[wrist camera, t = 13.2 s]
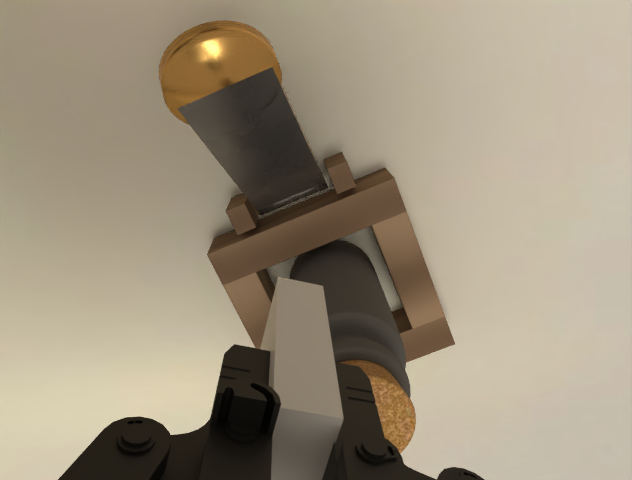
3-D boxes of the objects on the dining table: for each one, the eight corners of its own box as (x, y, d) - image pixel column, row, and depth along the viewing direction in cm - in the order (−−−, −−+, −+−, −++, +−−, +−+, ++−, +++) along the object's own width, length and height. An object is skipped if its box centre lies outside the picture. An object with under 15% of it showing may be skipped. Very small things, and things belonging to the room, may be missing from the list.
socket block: (200, 211, 33) (191, 225, 30) (374, 138, 32) (382, 146, 29) (287, 381, 38) (286, 407, 35) (442, 322, 37) (455, 344, 34)
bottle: (377, 238, 34) (436, 363, 20) (372, 317, 36) (423, 481, 22) (289, 238, 34) (286, 365, 20) (289, 318, 36) (287, 484, 22)
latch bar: (134, 53, 20) (138, 71, 20) (252, 0, 20) (258, 17, 19) (254, 206, 32) (258, 219, 32) (328, 175, 32) (333, 188, 31)
